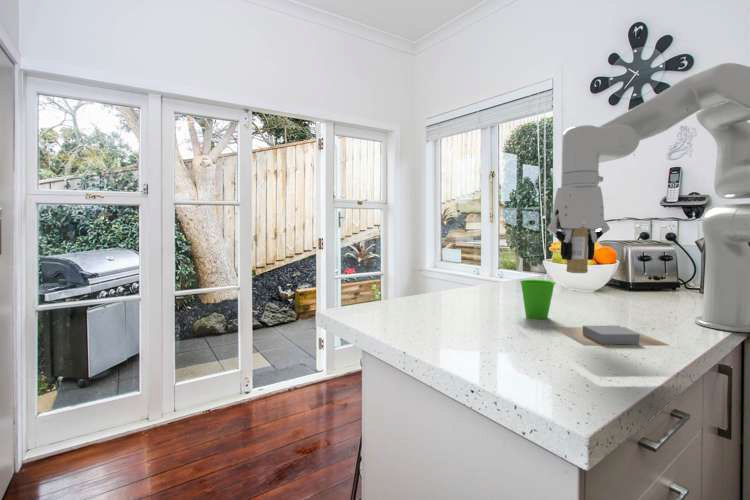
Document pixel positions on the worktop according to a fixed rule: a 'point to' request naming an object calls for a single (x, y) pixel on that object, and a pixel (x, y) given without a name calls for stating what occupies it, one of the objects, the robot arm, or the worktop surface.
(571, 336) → the board
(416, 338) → the worktop surface
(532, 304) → the cup
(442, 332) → the worktop surface
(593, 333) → the tile
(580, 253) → the sprinkles bottle
